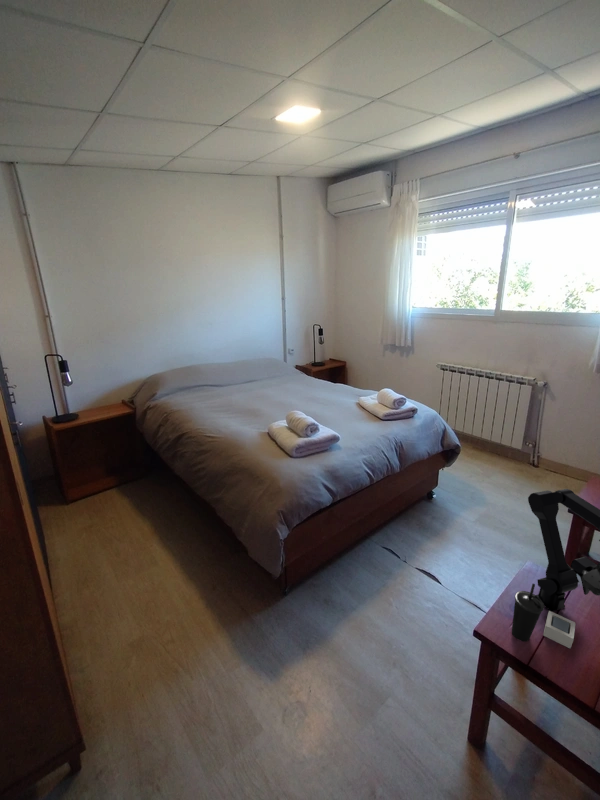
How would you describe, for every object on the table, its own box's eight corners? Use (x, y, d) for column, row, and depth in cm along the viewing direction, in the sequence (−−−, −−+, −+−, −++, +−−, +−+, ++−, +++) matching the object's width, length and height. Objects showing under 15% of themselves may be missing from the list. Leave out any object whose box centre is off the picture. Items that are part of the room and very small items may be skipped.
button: (550, 632, 116) (552, 625, 115) (551, 623, 119) (553, 616, 118) (565, 640, 113) (567, 632, 112) (566, 630, 116) (569, 623, 115)
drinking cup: (531, 651, 111) (545, 599, 104) (503, 635, 116) (515, 584, 109) (537, 634, 116) (551, 584, 110) (510, 619, 121) (523, 570, 115)
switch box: (543, 635, 116) (546, 625, 115) (546, 619, 121) (548, 610, 120) (570, 648, 112) (573, 639, 110) (572, 632, 117) (575, 622, 116)
